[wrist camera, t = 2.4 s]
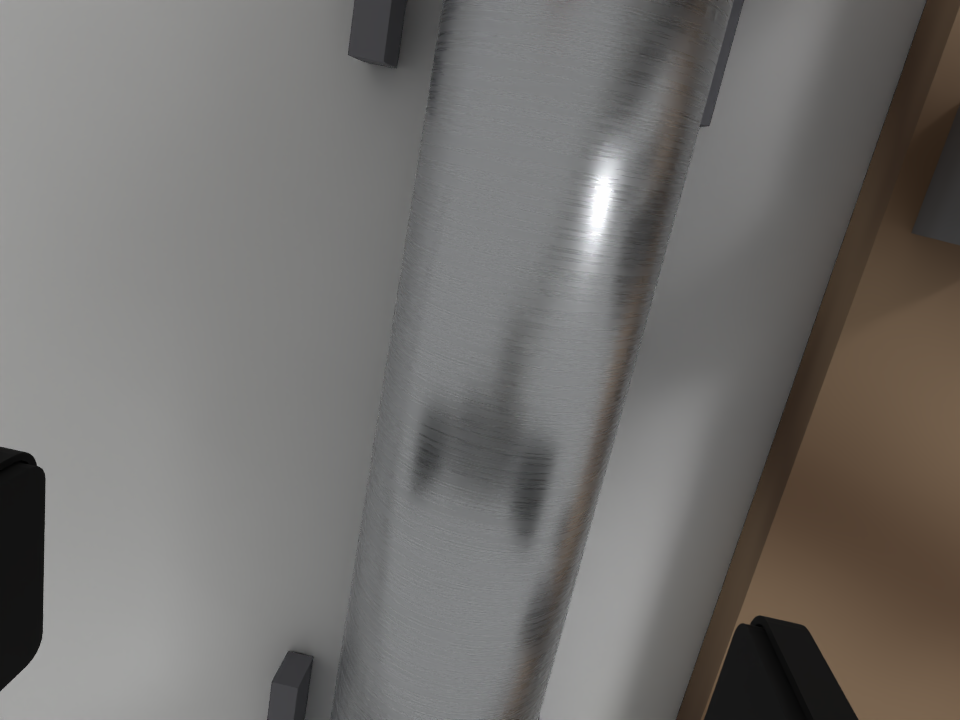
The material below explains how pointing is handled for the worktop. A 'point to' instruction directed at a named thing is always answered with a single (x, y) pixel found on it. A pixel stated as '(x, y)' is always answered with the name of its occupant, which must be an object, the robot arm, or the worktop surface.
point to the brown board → (873, 431)
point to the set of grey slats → (380, 44)
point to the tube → (515, 339)
